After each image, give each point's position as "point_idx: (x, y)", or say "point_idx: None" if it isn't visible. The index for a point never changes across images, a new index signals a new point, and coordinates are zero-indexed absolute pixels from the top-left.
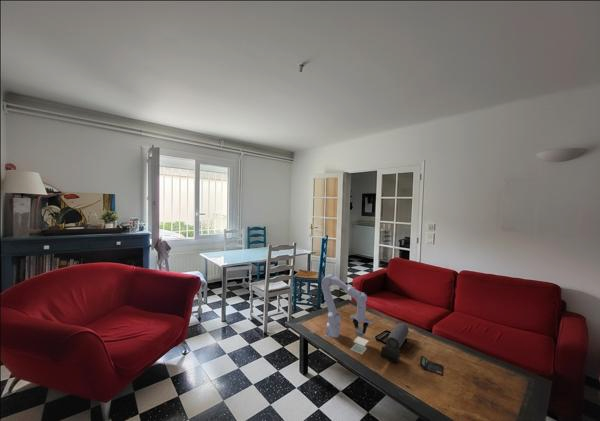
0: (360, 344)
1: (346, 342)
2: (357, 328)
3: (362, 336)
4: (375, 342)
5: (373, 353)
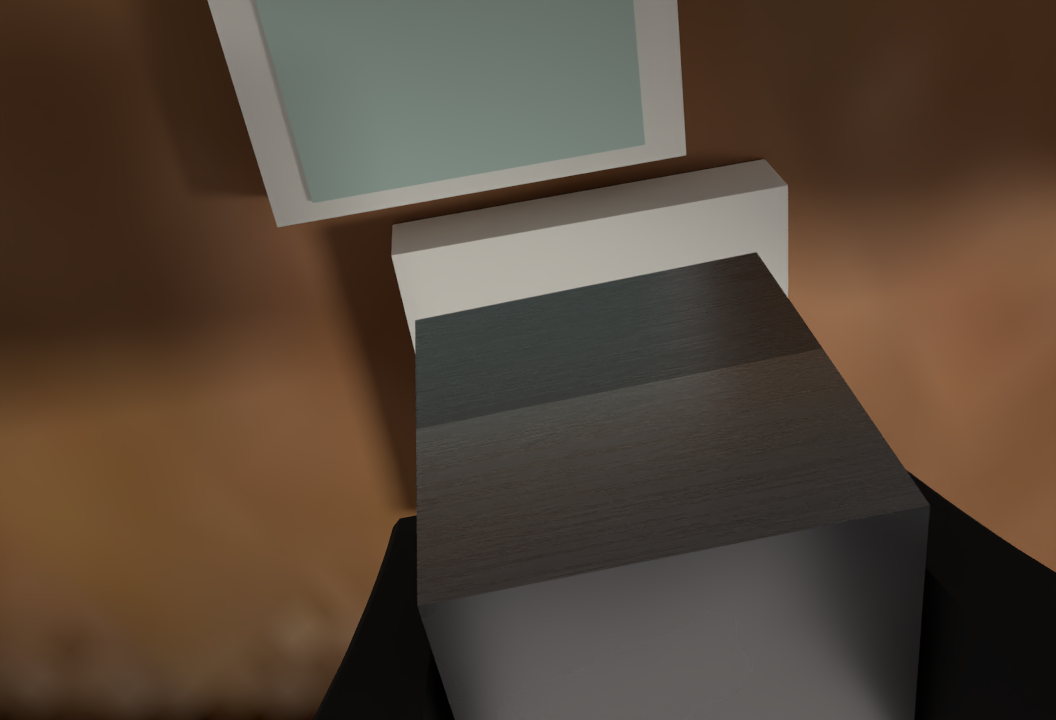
0: (533, 235)
1: (967, 63)
2: (807, 518)
3: (421, 361)
4: (355, 616)
5: (59, 219)
